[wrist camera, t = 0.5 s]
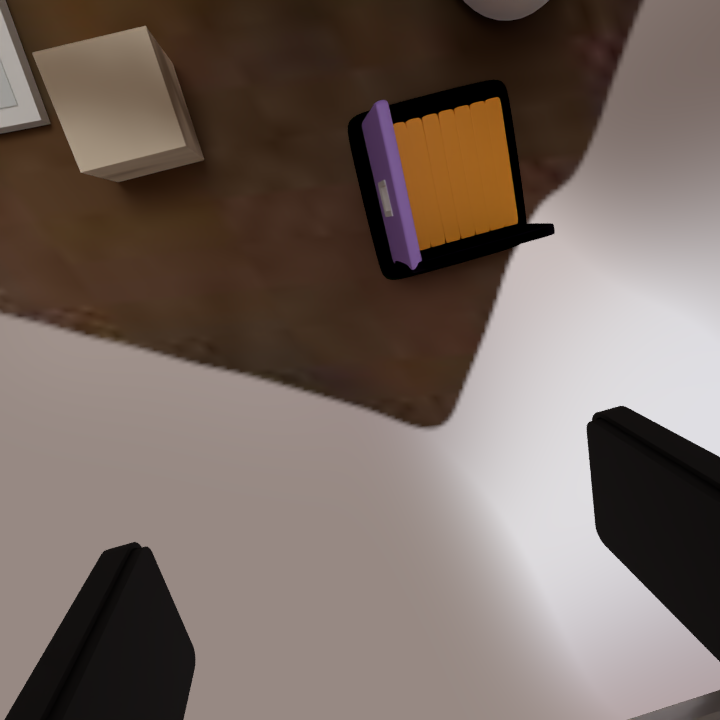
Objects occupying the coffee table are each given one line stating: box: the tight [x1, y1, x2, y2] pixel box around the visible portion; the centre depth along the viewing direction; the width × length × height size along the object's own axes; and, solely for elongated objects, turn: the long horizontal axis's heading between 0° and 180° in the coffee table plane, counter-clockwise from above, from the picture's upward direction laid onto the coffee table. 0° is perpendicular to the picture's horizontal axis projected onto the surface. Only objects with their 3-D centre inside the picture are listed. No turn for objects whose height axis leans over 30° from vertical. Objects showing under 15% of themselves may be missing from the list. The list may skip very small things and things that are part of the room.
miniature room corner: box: [348, 80, 554, 280], centre depth 32 cm, size 12×12×7 cm
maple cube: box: [32, 26, 204, 182], centre depth 28 cm, size 6×6×6 cm
